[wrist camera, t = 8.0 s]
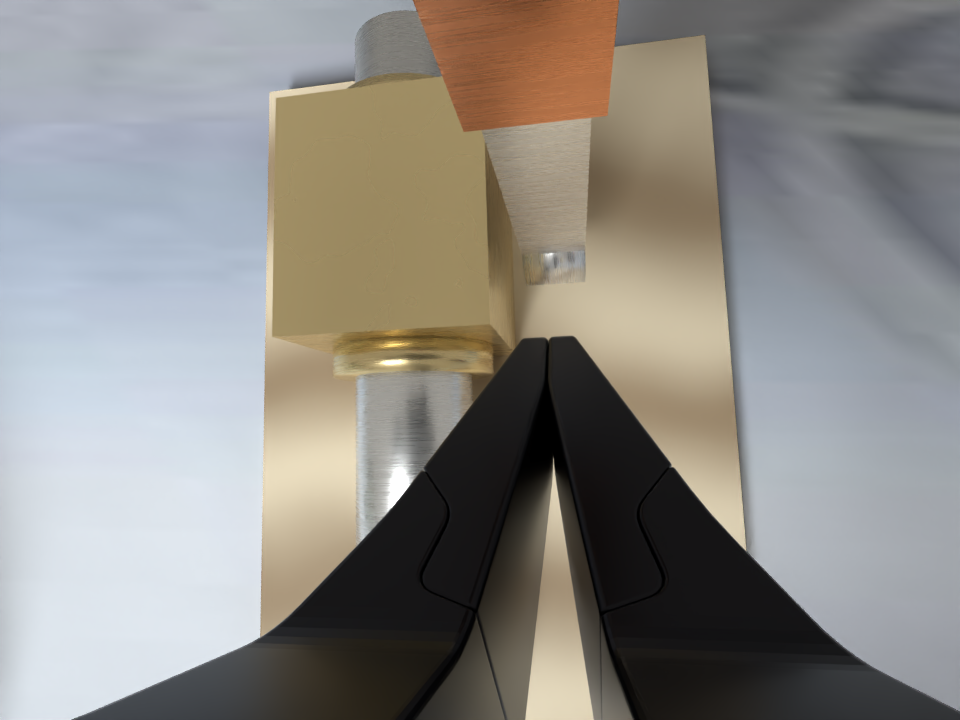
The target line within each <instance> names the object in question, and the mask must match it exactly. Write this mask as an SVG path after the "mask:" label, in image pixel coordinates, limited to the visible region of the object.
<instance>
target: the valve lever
mask: <svg viewBox="0 0 960 720" xmlns="http://www.w3.org/2000/svg"><path fill="white" fill-rule="evenodd" d="M413 2H414V4H415V7H416V10H417V12H418V15H419V17H420V20H421V23H422V25H423V28H424V30H425V33H426V36H427V38H428V41H429V43H430V46H431V49H432V51H433V54H434V56H435V59H436V61H437V64H438V67H439V69H440V72H441V74H442V77H443V80H444V82H445V85H446V87H447V90H448V93H449V95H450V98H451V100H452V103H453V106H454V108H455V111H456V113H457V116H458V119H459V121H460V124H461V126H462V129H463V131H464V132H469V131H478V130H482V134H483V137H484V140H485V143H486V146H487V149H488V152H489V155H490V158H491V161H492V164H493V168H494V171H495V174H496V177H497V180H498V183H499V186H500V189H501V192H502V195H503V198H504V202H505V205H506V208H507V211H508V214H509V217H510V220H511V223H512V226H513V229H514V232H515V236H516V239H517V242H518V245H519V248H520V251H521V254H522V261H523V270H524V276H525V282H526V285H527V286H534V285H549V284H563V283H578V282H585V281H586V261H585V244H586V222H587V200H588V179H589V157H590V135H591V118H593V117H602V116H608V106H609V96H610V86H611V76H612V66H613V55H614V45H615V35H616V25H617V15H618V4H619V0H413Z"/></svg>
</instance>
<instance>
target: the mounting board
mask: <svg viewBox="0 0 960 720" xmlns="http://www.w3.org/2000/svg"><path fill="white" fill-rule="evenodd" d="M353 84H355V81H351V82H343V83H335V84H328V85H320V86H313V87H305V88H298V89H290V90H282V91H275V92H270V104H269V163H268V221H267V279H266V338H265V396H264V455H263V513H262V571H261V630H260V637H262V636H263V635H265V634H266V633H267V632H269V631H270V630H272V629H273V628H274V627H276V626H277V625H278V624H279V623H280V622H282V621H283V620H284V619H285V618H286V617H288V616H289V615H290V614H291V613H292V612H293V611H294V610H295V609H296V608H297V607H298V606H299V605H300V604H301V603H302V602H303V601H304V600H305V599H306V598H307V597H308V596H309V595H310V594H311V593H312V592H313V591H314V590H315V588H316V587H317V586H318V585H319V584H320V583H321V582H322V581H323V580H324V579H325V578H326V577H327V576H328V575H329V574H330V573H331V572H332V571H333V570H334V569H335V568H336V567H337V566H338V565H339V564H340V563H341V562H342V561H343V559H344V558H345V557H346V556H347V555H348V554H349V553H350V552H351V551H352V550H353V549H354V548H355V547H356V382H352V381H343V380H338V379H335V378H333V354H329V353H326V352H322V351H319V350H316V349H312V348H309V347H305V346H302V345H298V344H295V343H292V342H288V341H285V340H281V339H278V338H275V337H272V304H273V240H274V177H275V114H276V98H279V97H287V96H294V95H302V94H310V93H318V92H325V91H333V90H341V89H347V88H348V87H349V86H351V85H353ZM512 246H513V275H514V303H515V331H516V346H517V345H518V343H519V342H520V341H521V340H522V339H523V338H534V337H545V338H547V339H548V341H549V339H550V338H551V337H554V336H574V337H576V338H577V340H578V341H579V342H580V344H581V345H582V346H583V348H584V349H585V350H586V352H587V353H588V354H589V355H590V357H591V358H592V359H593V361H594V362H595V363H596V365H597V366H598V367H599V369H600V370H601V371H602V373H603V374H604V375H605V377H606V378H607V379H608V381H609V382H610V383H611V385H612V386H613V387H614V389H615V390H616V391H617V392H618V394H619V395H620V396H621V398H622V399H623V400H624V402H625V403H626V404H627V406H628V407H629V408H630V410H631V411H632V412H633V414H634V415H635V416H636V418H637V419H638V420H639V422H640V423H641V424H642V426H643V427H644V428H645V430H646V431H647V432H648V433H649V435H650V436H651V437H652V439H653V440H654V441H655V443H656V444H657V445H658V447H659V448H660V449H661V451H662V452H663V453H664V455H665V456H666V457H667V459H668V460H669V461H670V463H671V464H672V467H674V468H675V469H676V470H677V471H678V473H679V474H680V475H681V477H682V478H683V479H684V481H685V482H686V483H687V485H688V486H689V487H690V488H691V490H692V491H693V492H694V493H695V495H696V496H697V497H698V498H699V500H700V501H701V502H702V503H703V504H704V506H705V507H706V508H707V509H708V511H709V512H710V513H711V514H712V515H713V516H714V517H715V518H716V520H717V521H718V522H719V523H720V524H721V525H722V526H723V527H724V528H725V529H726V530H727V531H728V532H729V534H730V535H731V536H732V537H733V538H734V539H735V540H736V541H737V542H738V543H739V544H740V545H741V546H742V547H743V548H744V549H745V550H746V541H745V528H744V516H743V503H742V491H741V478H740V466H739V454H738V441H737V429H736V416H735V404H734V391H733V379H732V366H731V354H730V341H729V329H728V316H727V304H726V291H725V279H724V266H723V254H722V241H721V229H720V216H719V204H718V191H717V179H716V166H715V154H714V141H713V129H712V117H711V104H710V92H709V79H708V67H707V54H706V42H705V35H700V36H693V37H685V38H677V39H670V40H662V41H655V42H647V43H639V44H632V45H624V46H617V47H614V55H613V66H612V76H611V86H610V96H609V106H608V116H602V117H593V118H591V135H590V157H589V179H588V200H587V222H586V244H585V261H586V281H585V282H578V283H563V284H549V285H534V286H527V285H526V282H525V276H524V270H523V261H522V254H521V251H520V248H519V245H518V242H517V239H516V236H515V232H514V229H513V226H512ZM508 356H509V355H505V356H493V371H494V374H493V375H492V376H490V377H486V378H481V379H474V380H472V396H473V402H474V401H475V399H476V398H477V397H478V396H479V394H480V393H481V392H482V390H483V389H484V388H485V386H486V385H487V384H488V382H489V381H490V380H491V379H492V377H493V376H494V375H495V373H496V372H497V371H498V369H499V368H500V367H501V365H502V364H503V363H504V362H505V360H506V359H507V358H508ZM525 720H594V718H593V711H592V705H591V699H590V693H589V686H588V680H587V674H586V667H585V661H584V655H583V649H582V642H581V636H580V630H579V623H578V617H577V611H576V605H575V598H574V592H573V586H572V579H571V573H570V567H569V560H568V554H567V548H566V542H565V535H564V529H563V523H562V516H561V510H560V504H559V498H558V491H557V485H556V477H555V469H554V458H553V479H552V489H551V498H550V506H549V515H548V524H547V533H546V542H545V550H544V559H543V568H542V577H541V586H540V594H539V603H538V612H537V621H536V630H535V638H534V647H533V656H532V665H531V674H530V682H529V691H528V700H527V709H526V718H525Z"/></svg>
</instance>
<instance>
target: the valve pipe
mask: <svg viewBox="0 0 960 720" xmlns="http://www.w3.org/2000/svg"><path fill="white" fill-rule="evenodd" d="M272 337H275V338H278V339H281V340H285V341H288V342H292V343H295V344H298V345H302V346H305V347H309V348H312V349H316V350H319V351H322V352H326V353H329V354H333V378H335V379H338V380H343V381H352V382H356V546H357V545H358V544H359V543H360V542H361V541H362V540H363V539H364V538H365V536H366V535H367V534H368V533H369V532H370V531H371V530H372V529H373V528H374V527H375V526H376V524H377V523H378V522H379V521H380V520H381V519H382V518H383V517H384V516H385V515H386V514H387V512H388V511H389V510H390V509H391V508H392V506H393V505H394V504H395V503H396V501H397V500H398V499H399V498H400V496H401V495H402V494H403V493H404V492H405V490H406V489H407V488H408V487H409V485H410V484H411V483H412V481H413V480H414V479H415V477H416V476H417V475H418V474H419V472H420V471H423V468H424V466H425V465H426V463H427V462H428V461H429V460H430V458H431V457H432V456H433V454H434V453H435V452H436V450H437V449H438V448H439V446H440V445H441V444H442V443H443V441H444V440H445V439H446V437H447V436H448V435H449V433H450V432H451V431H452V429H453V428H454V427H455V426H456V424H457V423H458V422H459V420H460V419H461V418H462V416H463V415H464V414H465V412H466V411H467V410H468V409H469V407H470V406H471V405H472V403H473V396H472V380H474V379H481V378H486V377H490V376H492V375H493V374H494V371H493V356H505V355H510V354H511V352H512V351H513V350H514V348H515V347H516V331H515V303H514V275H513V246H512V223H511V220H510V217H509V214H508V211H507V208H506V205H505V202H504V198H503V195H502V192H501V189H500V186H499V183H498V180H497V177H496V174H495V171H494V168H493V164H492V161H491V158H490V155H489V152H488V149H487V146H486V143H485V140H484V137H483V134H482V130H478V131H469V132H464V131H463V129H462V126H461V124H460V121H459V119H458V116H457V113H456V111H455V108H454V106H453V103H452V100H451V98H450V95H449V93H448V90H447V87H446V85H445V82H444V80H443V77H442V74H441V72H440V69H439V67H438V64H437V61H436V59H435V56H434V54H433V51H432V49H431V46H430V43H429V41H428V38H427V36H426V33H425V30H424V28H423V25H422V23H421V20H420V17H419V15H418V12H417V11H393V12H388V13H384V14H381V15H378V16H376V17H374V18H372V19H370V20H369V21H367V22H366V23H365V24H364V25H363V26H362V27H361V28H360V29H359V31H358V33H357V35H356V39H355V84H353V85H351V86H349V87H348V88H347V89H341V90H333V91H325V92H318V93H310V94H302V95H294V96H287V97H279V98H276V114H275V177H274V240H273V304H272Z"/></svg>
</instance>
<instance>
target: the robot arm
mask: <svg viewBox="0 0 960 720" xmlns="http://www.w3.org/2000/svg"><path fill="white" fill-rule="evenodd" d="M553 458H554V469H555V477H556V485H557V491H558V498H559V504H560V510H561V516H562V523H563V529H564V535H565V542H566V548H567V554H568V560H569V567H570V573H571V579H572V586H573V592H574V598H575V605H576V611H577V617H578V623H579V630H580V636H581V642H582V649H583V655H584V661H585V667H586V674H587V680H588V686H589V693H590V699H591V705H592V711H593V718H594V720H960V711H958V710H956V709H954V708H952V707H950V706H948V705H946V704H944V703H942V702H940V701H938V700H936V699H934V698H932V697H930V696H928V695H926V694H924V693H922V692H920V691H918V690H916V689H914V688H912V687H910V686H908V685H906V684H904V683H902V682H900V681H898V680H896V679H894V678H892V677H890V676H888V675H886V674H884V673H882V672H881V671H879V670H877V669H875V668H873V667H872V666H870V665H868V664H867V663H865V662H864V661H862V660H861V659H859V658H858V657H856V656H855V655H854V654H852V653H851V652H850V651H848V650H847V649H846V648H844V647H843V646H842V645H840V644H839V643H838V642H837V641H836V640H835V639H833V638H832V637H831V636H830V635H829V634H828V633H826V632H825V631H824V630H823V629H822V628H821V627H820V626H819V625H818V624H817V623H816V622H815V621H814V620H813V619H812V618H811V617H810V616H809V615H808V614H807V613H806V612H805V611H804V610H803V609H802V608H801V607H800V606H799V605H798V604H797V603H796V602H795V601H794V600H793V599H792V598H791V596H790V595H789V594H788V593H787V592H786V591H785V590H784V589H783V588H782V587H781V586H780V585H779V584H778V583H777V582H776V581H775V580H774V579H773V578H772V577H771V576H770V575H769V574H768V573H767V572H766V571H765V570H764V569H763V568H762V567H761V566H760V565H759V564H758V563H757V562H756V561H755V560H754V559H753V558H752V557H751V556H750V554H749V553H748V552H747V551H746V550H745V549H744V548H743V547H742V546H741V545H740V544H739V543H738V542H737V541H736V540H735V539H734V538H733V537H732V536H731V535H730V534H729V532H728V531H727V530H726V529H725V528H724V527H723V526H722V525H721V524H720V523H719V522H718V521H717V520H716V518H715V517H714V516H713V515H712V514H711V513H710V512H709V511H708V509H707V508H706V507H705V506H704V504H703V503H702V502H701V501H700V500H699V498H698V497H697V496H696V495H695V493H694V492H693V491H692V490H691V488H690V487H689V486H688V485H687V483H686V482H685V481H684V479H683V478H682V477H681V475H680V474H679V473H678V471H677V470H676V469H675V468H674V467H672V464H671V463H670V461H669V460H668V459H667V457H666V456H665V455H664V453H663V452H662V451H661V449H660V448H659V447H658V445H657V444H656V443H655V441H654V440H653V439H652V437H651V436H650V435H649V433H648V432H647V431H646V430H645V428H644V427H643V426H642V424H641V423H640V422H639V420H638V419H637V418H636V416H635V415H634V414H633V412H632V411H631V410H630V408H629V407H628V406H627V404H626V403H625V402H624V400H623V399H622V398H621V396H620V395H619V394H618V392H617V391H616V390H615V389H614V387H613V386H612V385H611V383H610V382H609V381H608V379H607V378H606V377H605V375H604V374H603V373H602V371H601V370H600V369H599V367H598V366H597V365H596V363H595V362H594V361H593V359H592V358H591V357H590V355H589V354H588V353H587V352H586V350H585V349H584V348H583V346H582V345H581V344H580V342H579V341H578V340H577V338H576V337H574V336H554V337H551V338H550V339H549V341H548V339H547V338H545V337H534V338H523V339H522V340H521V341H520V342H519V343H518V345H517V346H516V347H515V348H514V350H513V351H512V352H511V354H510V355H509V356H508V358H507V359H506V360H505V362H504V363H503V364H502V365H501V367H500V368H499V369H498V371H497V372H496V373H495V375H494V376H493V377H492V379H491V380H490V381H489V382H488V384H487V385H486V386H485V388H484V389H483V390H482V392H481V393H480V394H479V396H478V397H477V398H476V399H475V401H474V402H473V403H472V405H471V406H470V407H469V409H468V410H467V411H466V412H465V414H464V415H463V416H462V418H461V419H460V420H459V422H458V423H457V424H456V426H455V427H454V428H453V429H452V431H451V432H450V433H449V435H448V436H447V437H446V439H445V440H444V441H443V443H442V444H441V445H440V446H439V448H438V449H437V450H436V452H435V453H434V454H433V456H432V457H431V458H430V460H429V461H428V462H427V463H426V465H425V466H424V468H423V471H420V472H419V474H418V475H417V476H416V477H415V479H414V480H413V481H412V483H411V484H410V485H409V487H408V488H407V489H406V490H405V492H404V493H403V494H402V495H401V496H400V498H399V499H398V500H397V501H396V503H395V504H394V505H393V506H392V508H391V509H390V510H389V511H388V512H387V514H386V515H385V516H384V517H383V518H382V519H381V520H380V521H379V522H378V523H377V524H376V526H375V527H374V528H373V529H372V530H371V531H370V532H369V533H368V534H367V535H366V536H365V538H364V539H363V540H362V541H361V542H360V543H359V544H358V545H357V546H356V547H355V548H354V549H353V550H352V551H351V552H350V553H349V554H348V555H347V556H346V557H345V558H344V559H343V561H342V562H341V563H340V564H339V565H338V566H337V567H336V568H335V569H334V570H333V571H332V572H331V573H330V574H329V575H328V576H327V577H326V578H325V579H324V580H323V581H322V582H321V583H320V584H319V585H318V586H317V587H316V588H315V590H314V591H313V592H312V593H311V594H310V595H309V596H308V597H307V598H306V599H305V600H304V601H303V602H302V603H301V604H300V605H299V606H298V607H297V608H296V609H295V610H294V611H293V612H292V613H291V614H290V615H289V616H288V617H286V618H285V619H284V620H283V621H282V622H280V623H279V624H278V625H277V626H276V627H274V628H273V629H272V630H270V631H269V632H267V633H266V634H265V635H263V636H262V637H260V638H258V639H257V640H255V641H253V642H251V643H250V644H247V645H245V646H243V647H241V648H239V649H237V650H234V651H232V652H230V653H227V654H225V655H223V656H220V657H218V658H216V659H213V660H211V661H209V662H206V663H204V664H202V665H199V666H197V667H195V668H192V669H190V670H188V671H185V672H183V673H181V674H178V675H176V676H174V677H171V678H169V679H167V680H164V681H162V682H160V683H157V684H155V685H153V686H150V687H148V688H146V689H143V690H141V691H139V692H136V693H134V694H132V695H129V696H127V697H125V698H122V699H120V700H118V701H115V702H113V703H111V704H108V705H106V706H104V707H101V708H99V709H97V710H94V711H92V712H90V713H87V714H85V715H82V716H79V717H77V718H74V719H72V720H525V718H526V709H527V700H528V691H529V682H530V674H531V665H532V656H533V647H534V638H535V630H536V621H537V612H538V603H539V594H540V586H541V577H542V568H543V559H544V550H545V542H546V533H547V524H548V515H549V506H550V498H551V489H552V479H553Z"/></svg>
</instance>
